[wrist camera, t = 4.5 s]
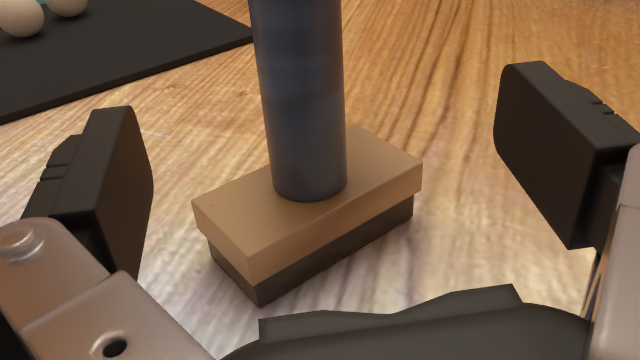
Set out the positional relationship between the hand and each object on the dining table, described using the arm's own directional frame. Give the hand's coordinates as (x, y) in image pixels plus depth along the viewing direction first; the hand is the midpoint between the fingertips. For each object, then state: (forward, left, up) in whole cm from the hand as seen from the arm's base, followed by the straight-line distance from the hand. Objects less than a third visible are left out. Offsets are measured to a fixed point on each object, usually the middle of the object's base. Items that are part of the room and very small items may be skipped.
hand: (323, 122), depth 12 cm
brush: (+3, +5, -9) cm, 11 cm away
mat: (+1, +35, -9) cm, 36 cm away
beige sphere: (+4, +39, -7) cm, 40 cm away
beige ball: (0, +37, -7) cm, 38 cm away
